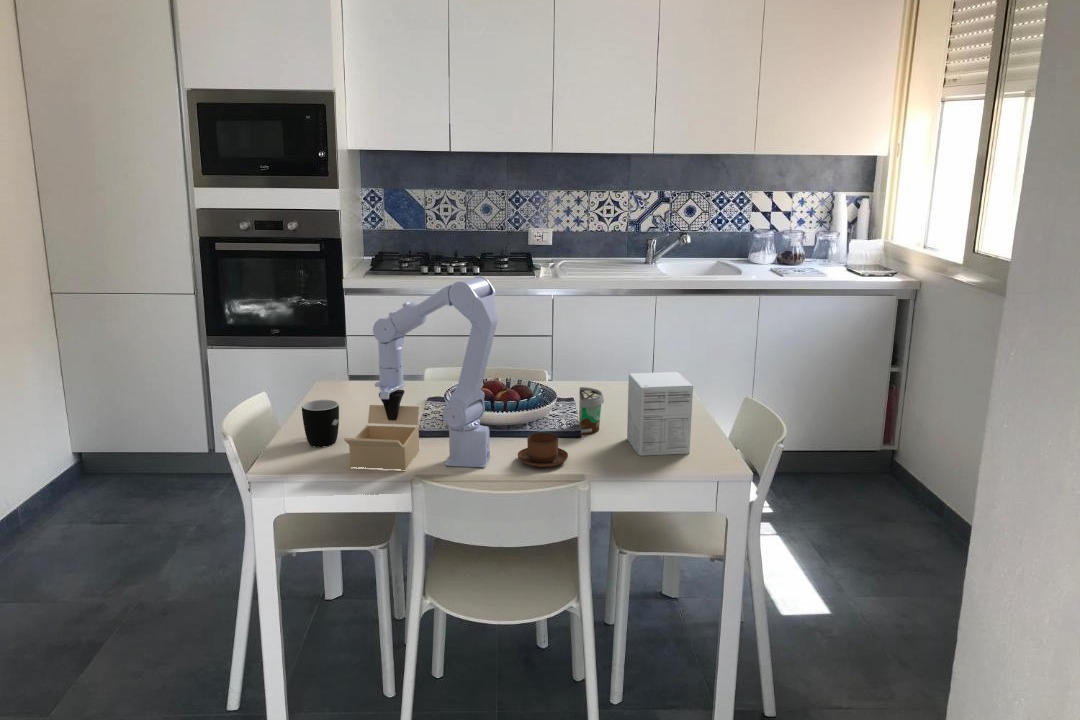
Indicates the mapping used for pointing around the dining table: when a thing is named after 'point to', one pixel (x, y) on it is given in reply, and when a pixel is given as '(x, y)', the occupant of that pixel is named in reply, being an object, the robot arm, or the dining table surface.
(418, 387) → the dining table surface
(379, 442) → the near flap
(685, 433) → the supplement box
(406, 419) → the far flap
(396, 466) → the carton
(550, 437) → the cup and saucer
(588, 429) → the food container
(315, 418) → the mug
